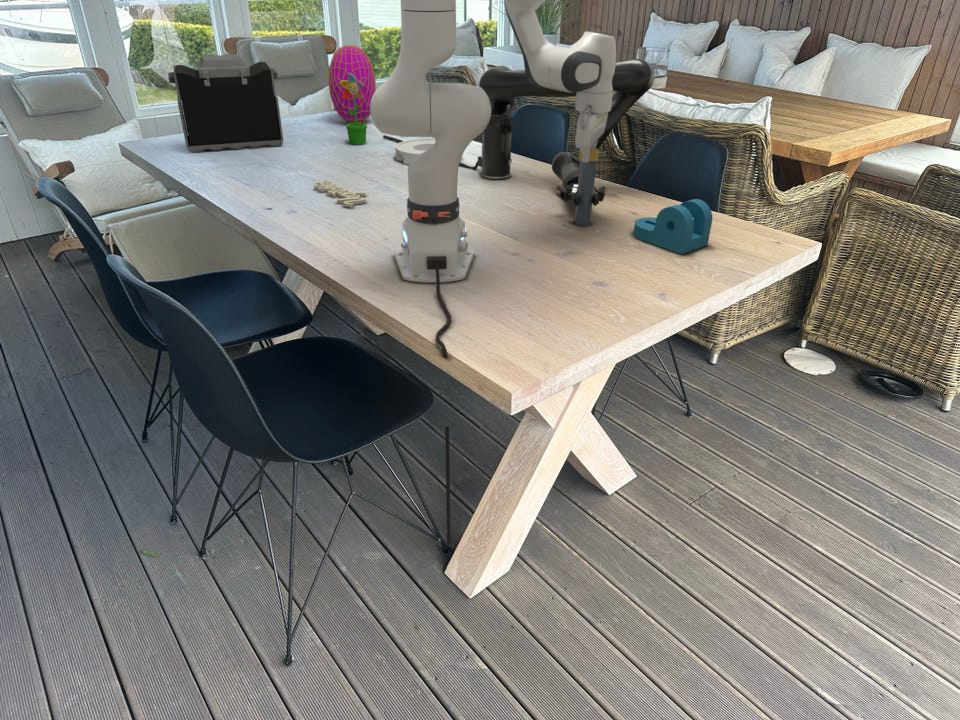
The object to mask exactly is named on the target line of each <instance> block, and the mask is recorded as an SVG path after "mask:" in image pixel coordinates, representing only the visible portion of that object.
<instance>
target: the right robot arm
mask: <svg viewBox="0 0 960 720" xmlns="http://www.w3.org/2000/svg"><path fill="white" fill-rule="evenodd" d="M654 71H655V70H654V69H653V67H652V65H651V64H650V63H649V62H647V61H646V60H645V59H643V58H637V57H636V58H630V59H624V60H618V61H616V63H615V72H614V75H613V78H612V87H613V92H614V93H613V94H612V104H611V111H609V112H608V117H607V122H606V127H605V131H604V133H603V134H602V135H601V136H600V137H599V138H598V142H597V145H596V149H597V150H599V148H600V147H601V146H602V144H604V142H605V141H606V139H607V138H608V137H609V136H610V134H611V133H612V131H613V130H614V128H615V127H616V126H617V124H618V123H619V122H620V121H621V119H622V118H623V117H624V116H625V115H626V113H627V112H628V111H629V110H630V109H631V108H632V107H633V106H634V105H635V104H636V103H637V102H638V101H639V100H640V99H641V98H643V96H644V95H645V94H646V93H648V91H649V90H651V88H652V87H653V85H654V82H655V72H654ZM478 87H481V88H482V89H483V90H484V91H485V92H486V94H487V96H488V98H489V100H490V104H491V117H490V121H489V123H488V125H487V127H486V128H485V130H484V131H483V132H482V138H481V139H482V143H481V155H480V156H477V160H476V162H475V166H471V165H468V164H466V163H463V162H461V161H460V163H459V166H461V167H463V168H466V169H469V170H470V169H471V170H476V169H478V168H479V167H481V177H482V178H484V179H488V180H505V179H509V178H510V177H511V164H512V162H513V158H512V157H511V156H512V126H513V125H512V124H513V114H514V112H515V111H514V110H515V101H516V98H521V97H534V98H569V97H570V98H572V97H576V92H575V93H569V92H564V91H558V90H554V89H549V88H538V87H535V86H534V85H532V84H531V83H530V82H529V80H528V78H527V76H526V72H525V69H521V70H517V69H516V70H514V69H511V68H509V67H508V66H505V65H496V66H494V67H491V68H489V69H487V70H486V71H484V72H483V74H482V75H481V77H480V79H479V81H478ZM382 138H384V139H387V140H390V141H394V142H397V143H400V142H403V141H404V140H401V139H400V138H396V137H392V136H389V135H386V134H383V135H382ZM573 145H574V147H575V148H576V146H575V141H574V144H573ZM576 150H577V151H578V152H579V150H580V148H576ZM579 167H580V159H577V158H576V157H575V156H573V155H572V154H570V152H567V151H560V152H559V153H557V154H556V155H555V156H554V157H553V159H552V162H551V171H552V172H553V174H554V175H555V176H556V177H557V178H558V179H559V180H561V182H562V186H560V185H558V186H556V194H555V195H556V197H558V198H559V199H560V200H562V201H563V202H569V201H570V203H572V205H574V206H575V207H576V206H578V203H579V197H578V195H577V191H578V179H579ZM606 187H607V186H604V185H603V186H601V187H599V188H597V187H596V186H595V185H594V193H593V203H592V206H594V207H596V206H597V205H599V204H600V202H603V201H604V199H605V196H606V189H607V188H606Z"/></svg>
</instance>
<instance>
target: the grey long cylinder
mask: <svg viewBox="0 0 960 720" xmlns="http://www.w3.org/2000/svg"><path fill="white" fill-rule="evenodd" d="M579 161H580V167H579V179H578V191H577V195H578V197H579V203H578V206H575V215H574V224H575V225H577V226H580V227H581V226H582V227H585V226H590V225H591V222H592V213H593V193H594V186H595V179H596V172H597V171H596V170H597V161H589V162H588V163H585V162H582V160H580V159H579Z"/></svg>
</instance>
